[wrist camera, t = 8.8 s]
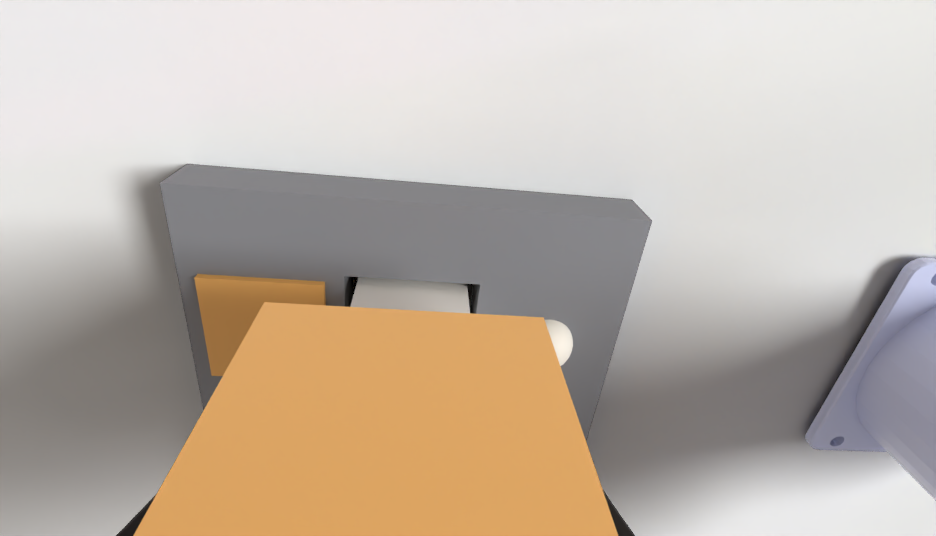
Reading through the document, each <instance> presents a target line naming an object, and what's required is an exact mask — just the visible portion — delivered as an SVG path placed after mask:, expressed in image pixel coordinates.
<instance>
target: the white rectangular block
mask: <svg viewBox="0 0 936 536" xmlns="http://www.w3.org/2000/svg"><path fill="white" fill-rule="evenodd" d="M350 307H362V308H381V309H399V310H417V311H435V312H454V313H470V307H469V298H468V289H467V284H463V283H447V282H431V281H414V280H398V279H382V278H366V277H358V280H357V284H356V288H355V291H354V295H353V299H352V302H351V306H350Z"/></svg>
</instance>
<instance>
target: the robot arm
mask: <svg viewBox="0 0 936 536" xmlns="http://www.w3.org/2000/svg"><path fill="white" fill-rule="evenodd" d="M805 439H806V441H807V442H808V443H809V445H810V446H811V447H812V448H814V449H818V450H847V451H879V452H888V453H889V454H890V455H891V456H892V457H893V458H894V459H895V460H896V461H897V462H898V463H899V464H900V465H901V466H902V467H903V468H904V469H905V470H906V471H907V472H908V473H909V474H910V475H911V476H912V477H913V478H914V479H915V480H916V481H917V482H918V483H919V484H920V485H921V486H922V487H923V488H924V489H925V490H926V491H927V492H928V493H929V494H930V495H931V496H932V497H933V498H934V499H935V500H936V258H925V257H924V258H917V259H915V260H912V261H910V262H909V263H907V264H906V265H905V266H904V267H903V268H902V270H901V271H900V273H899V275H898V276H897V278H896V280H895V282H894V283H893V285H892V287H891V288H890V290H889V292H888V294H887V295H886V297H885V299H884V301H883V302H882V304H881V306H880V307H879V309H878V311H877V313H876V314H875V316H874V318H873V319H872V321H871V323H870V325H869V326H868V328H867V330H866V331H865V333H864V335H863V337H862V338H861V340H860V342H859V343H858V345H857V347H856V349H855V350H854V352H853V354H852V355H851V357H850V359H849V361H848V362H847V364H846V366H845V367H844V369H843V371H842V373H841V374H840V376H839V378H838V379H837V381H836V383H835V385H834V386H833V388H832V390H831V391H830V393H829V395H828V397H827V398H826V400H825V402H824V404H823V405H822V407H821V409H820V410H819V412H818V414H817V416H816V417H815V419H814V421H813V422H812V424H811V426H810V428H809V429H808V431H807V433H806V436H805ZM603 492H604V490H603ZM604 495H605V498H606V501H607V504H608V507H609V510H610V513H611V516H612V519H613V522H614V524H615V527H616V530H617V533H618V536H635V535H634V534H633V532H632V531H631V529H630V528H629V527H628V525H627V524H626V522H625V521H624V520H623V518H622V517H621V515H620V514H619V513H618V511H617V510H616V508H615V507H614V505H613V504H612V502H611V501H610V499H609V498H608V496H607V495H606V493H605V492H604ZM155 496H156V495H155ZM155 496H154V497H153V498H152V499H151V500H150V501H149V502H148V503H147V505H146V506H145V507H144V508H143V509H142V510H141V511H140V512H139V513H138V514H137V515H136V516H135V517H134V518H133V519H132V520H131V521H130V522H129V523H128V524H127V525H126V526H125V527H124V528H123V529H122V530H121V531H120V532H119V533H118V534H117V535H116V536H133V535H134V534H135V532H136V530H137V528H138V527H139V525H140V523H141V521H142V519H143V518H144V516H145V514H146V512H147V510H148V509H149V507H150V505H151V503H152V502H153V500H154V498H155Z"/></svg>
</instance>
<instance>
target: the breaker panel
mask: <svg viewBox="0 0 936 536" xmlns="http://www.w3.org/2000/svg"><path fill="white" fill-rule="evenodd" d="M160 187H161V192H162V197H163V203H164V208H165V213H166V218H167V223H168V228H169V233H170V239H171V244H172V249H173V254H174V259H175V264H176V270H177V275H178V280H179V285H180V290H181V295H182V300H183V306H184V311H185V316H186V321H187V326H188V331H189V336H190V342H191V347H192V352H193V357H194V362H195V367H196V372H197V378H198V383H199V388H200V393H201V398H202V403H203V408H204V409H205V407H206V405H207V403H208V402H209V400H210V398H211V396H212V395H213V393H214V391H215V389H216V387H217V386H218V384H219V382H220V380H221V379H222V377H223V375H224V373H225V371H226V370H227V368H228V366H229V364H230V362H231V361H232V359H233V357H234V355H235V354H236V352H237V350H238V348H239V346H240V345H241V343H242V341H243V339H244V337H245V336H246V334H247V332H248V330H249V329H250V327H251V325H252V323H253V321H254V320H255V318H256V316H257V314H258V313H259V311H260V309H261V307H262V305H263V304H264V302H271V303H290V304H308V305H326V306H344V307H350V306H351V302H352V299H353V277H366V278H382V279H398V280H414V281H431V282H447V283H463V284H473V289H472V297H471V305H470V313H472V314H490V315H508V316H527V317H544V320H545V323H546V326H547V329H548V331H549V334H550V337H551V340H552V343H553V346H554V349H555V352H556V355H557V358H558V361H559V364H560V367H561V369H562V372H563V375H564V378H565V381H566V384H567V387H568V390H569V393H570V396H571V399H572V402H573V405H574V408H575V410H576V413H577V416H578V419H579V422H580V425H581V428H582V431H583V434H584V437H585V440H587V436H588V433H589V430H590V426H591V423H592V420H593V416H594V413H595V410H596V406H597V403H598V400H599V396H600V393H601V390H602V386H603V383H604V380H605V376H606V373H607V370H608V366H609V363H610V360H611V356H612V353H613V350H614V346H615V343H616V340H617V336H618V333H619V330H620V326H621V323H622V320H623V316H624V313H625V310H626V306H627V303H628V300H629V296H630V293H631V290H632V286H633V283H634V280H635V276H636V273H637V270H638V266H639V263H640V260H641V256H642V253H643V250H644V246H645V243H646V240H647V236H648V233H649V230H650V226H651V223H652V220H651V219H650V218H649V217H648V216H647V215H646V214H645V213H644V212H643V211H642V210H641V209H640V208H639V207H638V205H637V204H636V203H635V202H634V201H633V200H628V199H615V198H603V197H591V196H578V195H566V194H554V193H541V192H529V191H516V190H504V189H492V188H479V187H467V186H455V185H442V184H430V183H417V182H405V181H393V180H380V179H368V178H355V177H343V176H331V175H318V174H306V173H294V172H281V171H269V170H256V169H244V168H232V167H219V166H207V165H194V164H187V165H185V166H184V167H182V168H181V169H179V170H178V171H176V172H175V173H174V174H172V175H171V176H169V177H168V178H166V179H165V180H163V181H162V182H160Z"/></svg>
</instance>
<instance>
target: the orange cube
mask: <svg viewBox="0 0 936 536" xmlns="http://www.w3.org/2000/svg"><path fill="white" fill-rule="evenodd" d="M133 536H618V533H617V530H616V527H615V524H614V522H613V519H612V516H611V513H610V510H609V507H608V504H607V501H606V498H605V495H604V492H603V489H602V486H601V484H600V481H599V478H598V475H597V472H596V469H595V466H594V463H593V460H592V457H591V454H590V451H589V448H588V446H587V443H586V440H585V437H584V434H583V431H582V428H581V425H580V422H579V419H578V416H577V413H576V410H575V408H574V405H573V402H572V399H571V396H570V393H569V390H568V387H567V384H566V381H565V378H564V375H563V372H562V369H561V367H560V364H559V361H558V358H557V355H556V352H555V349H554V346H553V343H552V340H551V337H550V334H549V331H548V329H547V326H546V323H545V320H544V317H527V316H508V315H490V314H472V313H454V312H435V311H417V310H399V309H381V308H362V307H344V306H326V305H308V304H290V303H271V302H264V304H263V305H262V307H261V309H260V311H259V313H258V314H257V316H256V318H255V320H254V321H253V323H252V325H251V327H250V329H249V330H248V332H247V334H246V336H245V337H244V339H243V341H242V343H241V345H240V346H239V348H238V350H237V352H236V354H235V355H234V357H233V359H232V361H231V362H230V364H229V366H228V368H227V370H226V371H225V373H224V375H223V377H222V379H221V380H220V382H219V384H218V386H217V387H216V389H215V391H214V393H213V395H212V396H211V398H210V400H209V402H208V403H207V405H206V407H205V409H204V411H203V412H202V414H201V416H200V418H199V420H198V421H197V423H196V425H195V427H194V428H193V430H192V432H191V434H190V436H189V437H188V439H187V441H186V443H185V444H184V446H183V448H182V450H181V452H180V453H179V455H178V457H177V459H176V461H175V462H174V464H173V466H172V468H171V469H170V471H169V473H168V475H167V477H166V478H165V480H164V482H163V484H162V486H161V487H160V489H159V491H158V493H157V494H156V496H155V498H154V500H153V502H152V503H151V505H150V507H149V509H148V510H147V512H146V514H145V516H144V518H143V519H142V521H141V523H140V525H139V527H138V528H137V530H136V532H135V534H134V535H133Z"/></svg>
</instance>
